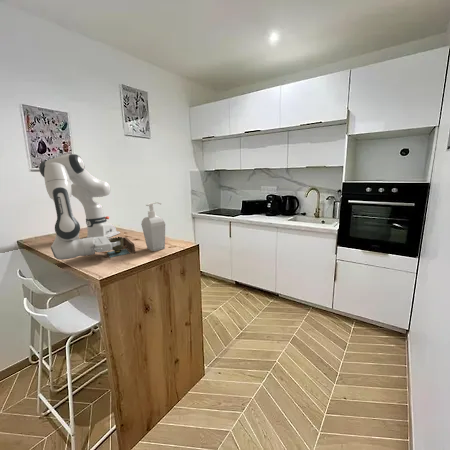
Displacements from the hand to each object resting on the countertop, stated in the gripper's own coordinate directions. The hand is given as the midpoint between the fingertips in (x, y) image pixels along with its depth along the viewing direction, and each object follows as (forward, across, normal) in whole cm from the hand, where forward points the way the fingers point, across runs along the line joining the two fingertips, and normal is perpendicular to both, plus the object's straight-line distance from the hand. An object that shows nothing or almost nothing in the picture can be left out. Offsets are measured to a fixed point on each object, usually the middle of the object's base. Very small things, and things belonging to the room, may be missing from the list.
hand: (118, 241), depth 138 cm
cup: (-1, 0, +6) cm, 7 cm away
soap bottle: (+19, -6, +7) cm, 21 cm away
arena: (-1, +4, +7) cm, 8 cm away
